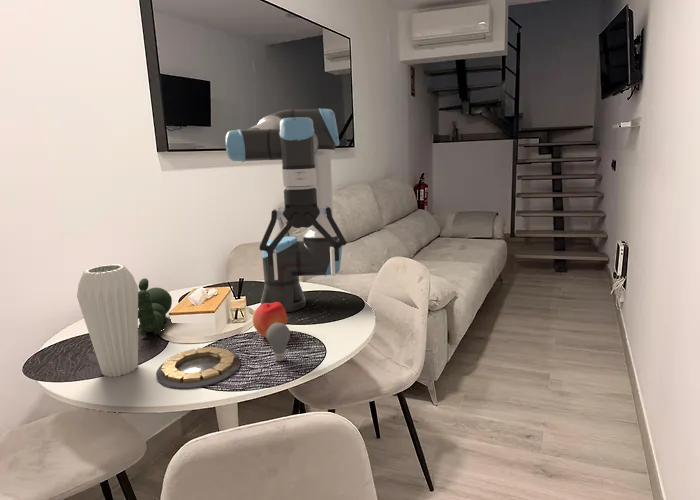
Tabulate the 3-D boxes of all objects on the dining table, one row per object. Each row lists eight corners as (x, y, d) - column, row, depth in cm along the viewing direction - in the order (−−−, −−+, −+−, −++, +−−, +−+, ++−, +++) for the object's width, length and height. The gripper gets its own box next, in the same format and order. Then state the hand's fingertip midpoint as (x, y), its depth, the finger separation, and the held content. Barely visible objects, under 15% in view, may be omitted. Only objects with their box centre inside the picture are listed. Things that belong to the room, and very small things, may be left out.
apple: (287, 328, 142) (285, 296, 140) (288, 341, 133) (286, 307, 131) (254, 331, 141) (251, 299, 138) (253, 344, 132) (250, 310, 129)
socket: (168, 354, 127) (167, 348, 127) (243, 348, 129) (243, 342, 129) (145, 392, 108) (144, 385, 108) (235, 384, 110) (234, 377, 110)
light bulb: (287, 366, 118) (284, 328, 116) (264, 364, 119) (261, 327, 117) (294, 355, 124) (292, 319, 122) (273, 354, 125) (270, 318, 123)
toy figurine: (166, 345, 137) (177, 309, 160) (157, 284, 131) (169, 256, 155) (132, 349, 135) (147, 312, 158) (121, 287, 129) (138, 258, 153)
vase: (87, 387, 111) (69, 279, 105) (92, 364, 123) (76, 266, 117) (149, 375, 116) (134, 271, 110) (148, 353, 128) (135, 259, 122)
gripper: (243, 191, 103) (251, 284, 108) (356, 186, 107) (358, 276, 112) (245, 188, 111) (252, 275, 115) (351, 183, 114) (353, 268, 119)
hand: (304, 276), depth 114 cm, fingers open, 13 cm apart
